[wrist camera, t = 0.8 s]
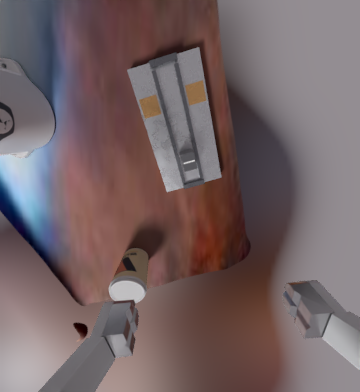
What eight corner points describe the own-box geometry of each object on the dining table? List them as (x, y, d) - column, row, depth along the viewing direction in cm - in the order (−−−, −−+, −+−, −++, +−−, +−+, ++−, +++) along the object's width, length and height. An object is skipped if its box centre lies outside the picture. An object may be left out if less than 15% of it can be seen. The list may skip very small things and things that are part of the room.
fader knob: (194, 163, 39) (197, 168, 35) (183, 166, 39) (184, 172, 35) (191, 148, 38) (193, 151, 33) (179, 151, 38) (180, 155, 34)
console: (219, 175, 43) (222, 178, 40) (167, 189, 44) (166, 193, 41) (197, 51, 32) (199, 44, 30) (129, 72, 33) (125, 68, 31)
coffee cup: (138, 240, 50) (129, 274, 39) (157, 260, 53) (153, 295, 42) (114, 254, 52) (99, 290, 41) (134, 272, 55) (124, 309, 44)
